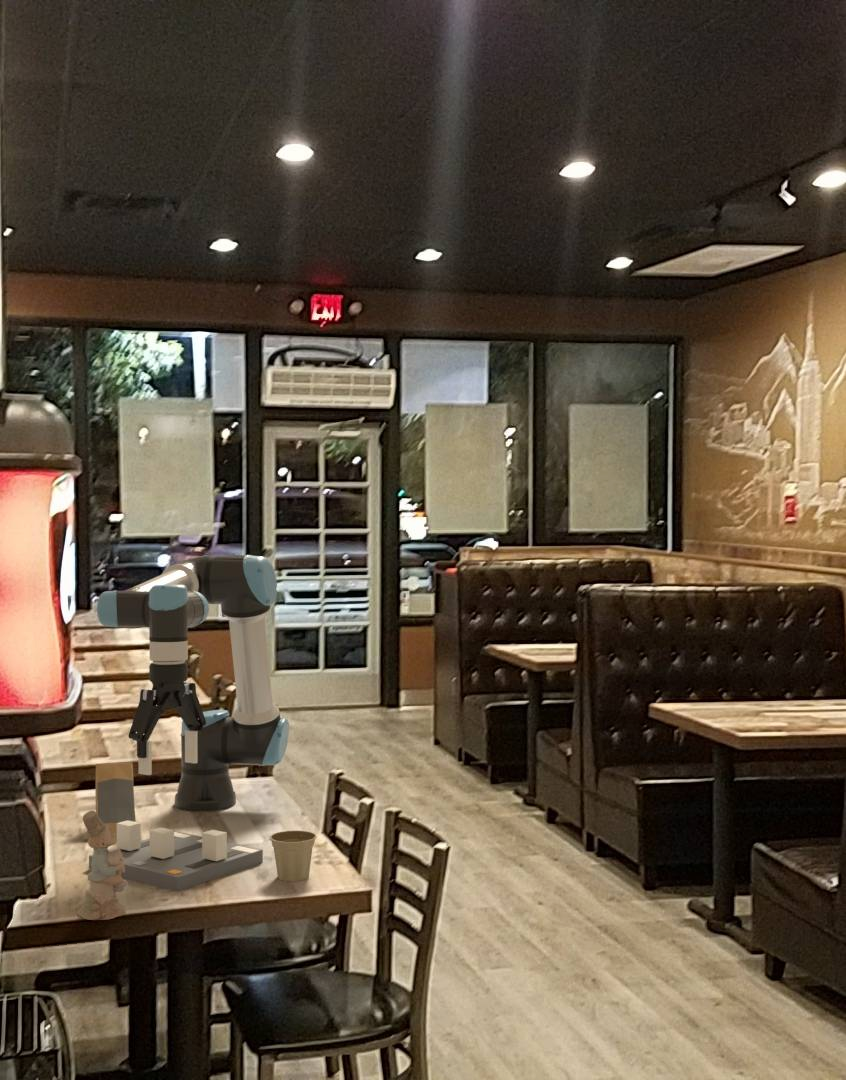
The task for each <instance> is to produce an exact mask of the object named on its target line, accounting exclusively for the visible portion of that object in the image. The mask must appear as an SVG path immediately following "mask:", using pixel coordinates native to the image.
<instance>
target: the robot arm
mask: <svg viewBox="0 0 846 1080" xmlns="http://www.w3.org/2000/svg"><path fill="white" fill-rule="evenodd" d="M277 581H278V580H277V576H276V572H275V569H274V567H273V564H272V563H271V561H270V560H269V559H268V558H267V557H265V556H261V555H252V554H246V555H245V554H244V555H243V554H241V555H240V554H239V555H238V554H237V555H235V554H233V555H232V554H231V555H222V554H221V555H214V554H213V555H212V554H209V555H208V554H207V555H206V554H205V555H199V556H195V557H192V558H188V559H184V560H182V561H179V562H177V563H176V562H175V563H174V564H172V565H170V566H168V567H166V568H165V569H164V570H163V572H162V573H161V574H160V575H157V576H155V577H154V578H151V579H149V580H146V581H144V582H141V583H140V584H137V585H134V586H133V587H130V588H127V589H125V590H116V589H115V590H106V591H104V592H101V594H100V595H99V597H98V599H97V605H96V614H97V618H98V621H99V623H100V624H101V625H102V626H104V627H108V628H109V627H111V628H148V630H149V632H148V634H149V635H148V636H149V638H148V641H149V661H151V663H150V664H149V666H148V673H149V674H148V675H149V677H148V678H149V681H150V682H151V684H152V689H145V688H144V689H141V690H140V693H139V702H138V705H137V707H136V710H135V715H134V717H133V719H132V724H131V727H130V729H129V732H128V739H132V741H135V742H136V756H137V759H138V760H137V761H138V762H137V763H138V775H146V776H151V775H152V773H153V772H152V771H153V769H152V765H153V764H152V762H153V761H152V758H153V757H152V756H153V755H152V753H153V751H152V748H153V747H152V746H153V745H152V740H149V739H150V737H151V735H152V733H153V731H154V730H155V728H156V726H157V724H158V722H159V720H160V718H161V716H162V714H164V713H165V712H166V711H167V710H171V709H175V710H176V712H177V714H178V715H179V717H180V718H181V720H182V721H181V733H180V746H181V748H180V749H181V750H180V751H181V752H180V753H181V757H180V758H181V774H180V776H181V777H180V779H179V783H178V786H177V792H176V793H175V795H174V807H175V808H176V809H178V810H180V811H181V810H182V811H185V812H186V811H187V812H199V813H200V812H213V811H222V810H226V809H229V808H232V807H234V806H235V805H236V804H237V795H236V792H235V790H234V787H233V783H232V779H231V776H230V770H229V769H230V767H229V765H240V766H241V765H244V766H245V765H247V766H249V765H250V766H262V767H264V766H276V765H278V764H280V763H281V762H282V760H283V758H284V756H285V754H286V751H287V747H288V743H289V742H288V740H289V736H290V735H289V733H290V724H289V721H288V718H285V717H283V716H282V717H281V716H280V715H281V713H280V709H279V707H278V706H277V705H275V704H274V703H273V693H272V685H271V684H272V681H271V673H270V672H271V670H270V661H269V649H268V648H269V647H268V637H267V627H266V615H267V614H268V613H269V612H270V610H271V606H272V605H273V604H274V603H275V602H276V600H277V594H278V590H277V587H278V583H277ZM209 605H220V608H221V615H222V616H223V617H225V618H227V620H228V624H229V634H230V643H231V644H230V645H231V654H232V662H233V663H232V664H233V673H234V674H233V675H234V684H235V694H236V703H237V704H236V705H237V708H236V709H235V710H233V713H232V715H231V716H230V713H229V711H228V710H226V709H213V710H207V711H203V709H202V705H201V702H200V701H199V696H198V695H197V687H196V683H195V682H187V681H188V677H189V676H188V674H189V672H188V671H189V670H188V668H189V667H188V663H187V662H186V661H187V660H188V659H189V650H188V649H189V644H188V642H189V639H188V635H189V634H188V633H189V632H188V631H189V630H188V629H189V628H190V629H192V628H195V627H197V626H198V625H201V624H202V623H203V622H205V621H206V619H207V618H208V615H209V613H210V612H209V611H210V606H209Z"/></svg>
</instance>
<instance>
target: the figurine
mask: <svg viewBox="0 0 846 1080" xmlns="http://www.w3.org/2000/svg"><path fill="white" fill-rule="evenodd" d="M82 822H83V823H84V827H85V829H86V830H87V832H88V834H89V835H88V836H89V838H88V840H87V844H88V846H89V847H90V849H93V853H92V855H93V858H92V863H91V866H92V870H91V871H90V872H89V873H88V874H87V880H88V881H89V884H90V886H89V889H86V890H85V897H84V903H83V904H82V906H80V909H79V910H78V911H77V915H78V916H79V917H80V918H83V919H85V920H87V921H88V920H91V921H105V920H111V919H115V918H117V917H122V916H123V915H125V914H126V909H125V906H124V904H123V903H122V902H121V901H120V900H119V899H118V895H117V892H118V893H121V892H124V888H125V887H127V886H128V885H129V882H128V881H127V879H124V878H122V877H121V873H123V872H125V865H124V861H125V859H124V858H123V856H122V852H121V850H120V848H118V849H116V850H113V851H110V852H109V851H108V850H109V849H108V848H109V847H111V846H114V845H117V841H116V839H115V833H110V829H111V828H110V827H109V826H107V825H105V824H104V823H103V822H102V820H101V819H100V817H99V816H98V814H97V813H96V810H89V811H87V812H86V813H84V814H83V817H82Z"/></svg>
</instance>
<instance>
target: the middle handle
mask: <svg viewBox="0 0 846 1080" xmlns="http://www.w3.org/2000/svg"><path fill="white" fill-rule="evenodd" d="M174 831H175V830H174V829H171V828H164V827H157V828H154V829H150V830H149V838H150V856H153V857H157V858H161V859H165V858H168V857H171V856H174Z"/></svg>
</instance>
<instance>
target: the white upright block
mask: <svg viewBox="0 0 846 1080" xmlns="http://www.w3.org/2000/svg"><path fill="white" fill-rule="evenodd" d="M201 837H202V858H204V859H208V860H213V861H219V860H222V859H225V858H227V842H228V833H227V832H226V831H221V830H217V829H210V830H207V831H203V832H201Z"/></svg>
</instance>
